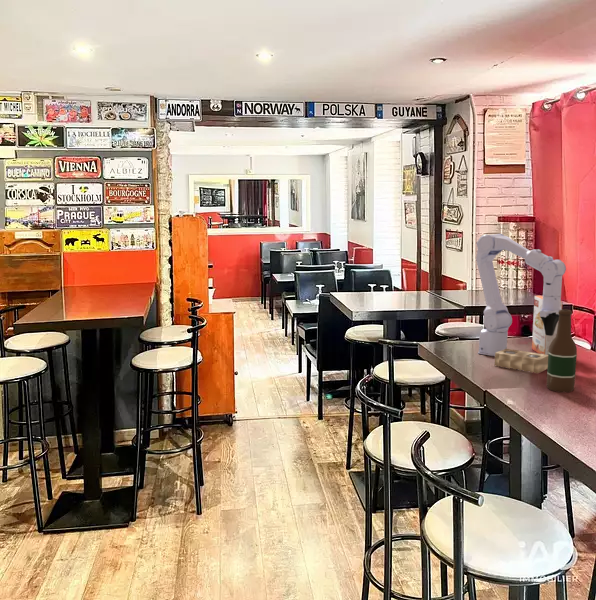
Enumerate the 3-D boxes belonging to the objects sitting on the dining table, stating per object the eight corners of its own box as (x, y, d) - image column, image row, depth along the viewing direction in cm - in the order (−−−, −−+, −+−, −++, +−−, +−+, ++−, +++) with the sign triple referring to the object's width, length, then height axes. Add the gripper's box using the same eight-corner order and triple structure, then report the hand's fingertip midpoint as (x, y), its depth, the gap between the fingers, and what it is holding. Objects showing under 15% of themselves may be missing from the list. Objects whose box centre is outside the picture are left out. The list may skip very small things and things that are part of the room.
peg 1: (503, 365, 224) (504, 352, 223) (507, 363, 226) (508, 350, 226) (512, 366, 222) (512, 353, 221) (515, 365, 224) (516, 352, 224)
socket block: (494, 365, 223) (495, 352, 222) (505, 361, 230) (506, 348, 229) (537, 373, 213) (538, 359, 213) (548, 368, 220) (549, 355, 219)
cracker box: (530, 349, 248) (533, 295, 245) (546, 349, 248) (550, 295, 245) (543, 358, 234) (546, 300, 231) (560, 358, 234) (563, 300, 231)
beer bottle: (573, 386, 198) (578, 308, 194) (575, 394, 191) (580, 312, 187) (545, 384, 200) (550, 307, 197) (546, 391, 193) (551, 311, 189)
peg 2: (526, 369, 219) (527, 356, 218) (530, 367, 221) (531, 354, 220) (535, 370, 217) (536, 357, 216) (539, 369, 219) (539, 355, 218)
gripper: (555, 299, 213) (553, 340, 215) (571, 294, 224) (568, 333, 226) (534, 297, 218) (532, 337, 220) (550, 292, 228) (548, 330, 230)
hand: (549, 335), depth 223 cm, fingers closed
